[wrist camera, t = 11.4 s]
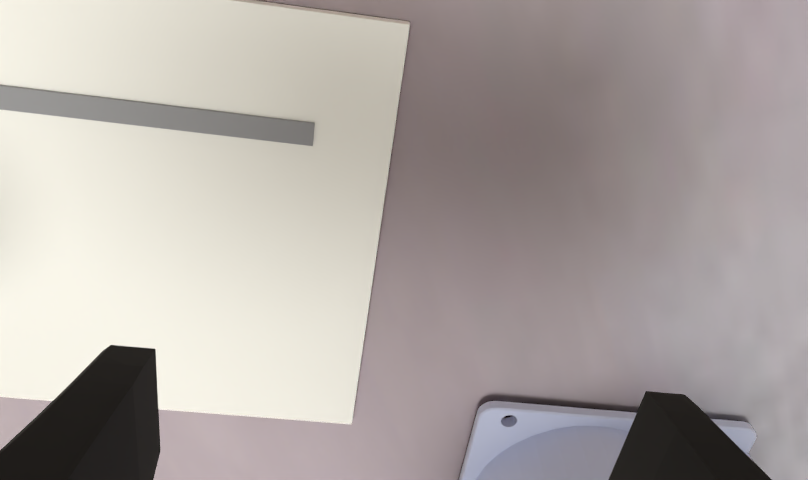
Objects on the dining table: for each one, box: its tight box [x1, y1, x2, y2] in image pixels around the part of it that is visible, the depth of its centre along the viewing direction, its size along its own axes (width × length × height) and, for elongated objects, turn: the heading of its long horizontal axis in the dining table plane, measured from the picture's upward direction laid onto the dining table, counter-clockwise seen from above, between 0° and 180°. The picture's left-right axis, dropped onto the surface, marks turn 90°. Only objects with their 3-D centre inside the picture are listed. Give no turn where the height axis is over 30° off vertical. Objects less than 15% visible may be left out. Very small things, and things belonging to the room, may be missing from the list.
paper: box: [0, 0, 410, 424], centre depth 19 cm, size 16×13×1 cm
